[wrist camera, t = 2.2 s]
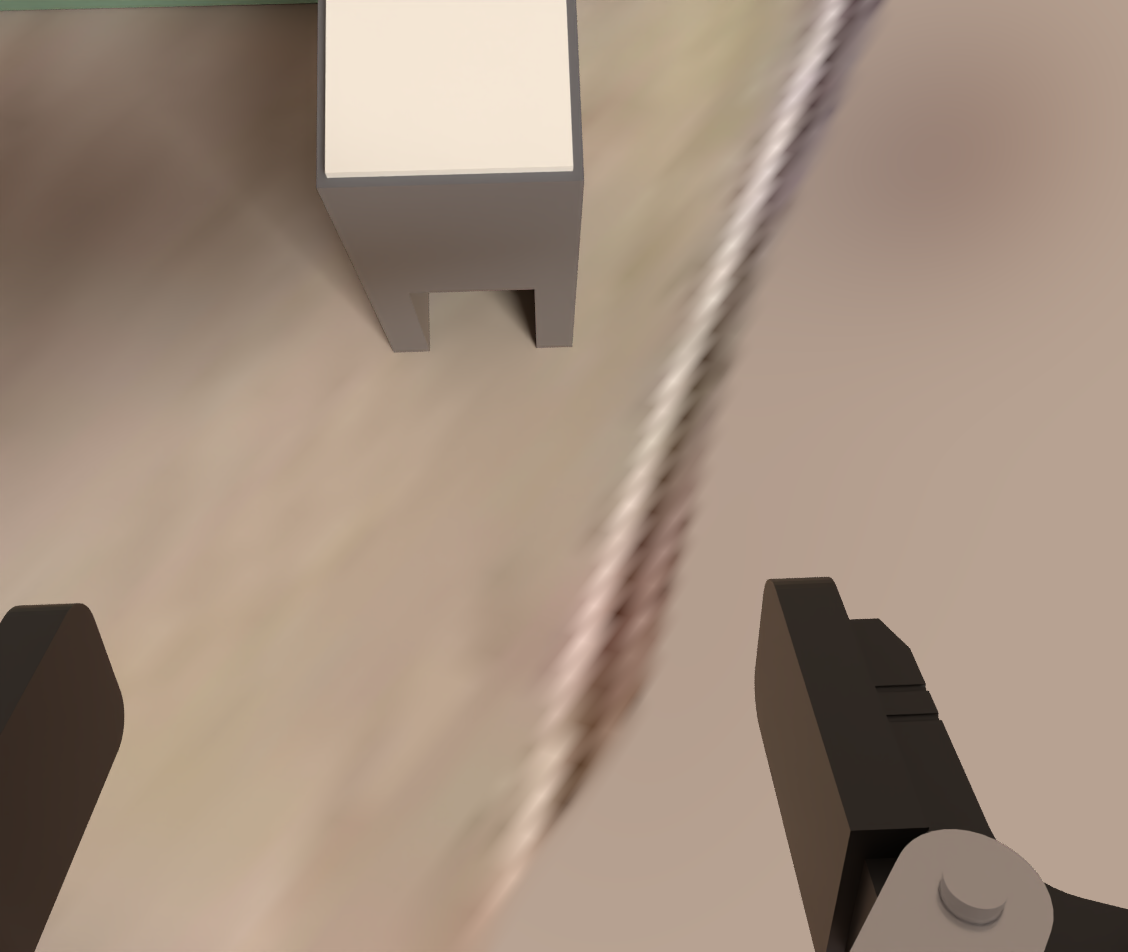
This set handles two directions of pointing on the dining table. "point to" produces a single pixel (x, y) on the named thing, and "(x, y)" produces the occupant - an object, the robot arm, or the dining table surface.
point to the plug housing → (453, 153)
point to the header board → (128, 3)
